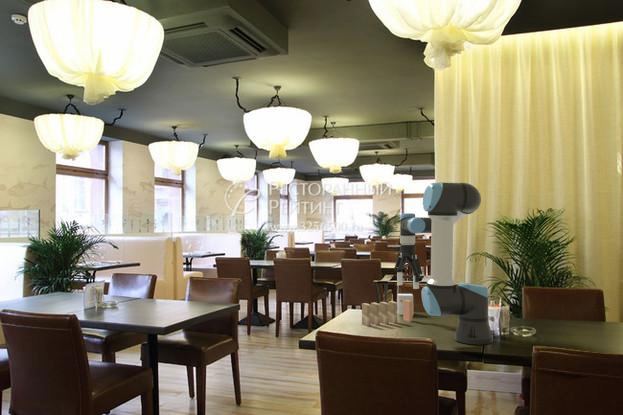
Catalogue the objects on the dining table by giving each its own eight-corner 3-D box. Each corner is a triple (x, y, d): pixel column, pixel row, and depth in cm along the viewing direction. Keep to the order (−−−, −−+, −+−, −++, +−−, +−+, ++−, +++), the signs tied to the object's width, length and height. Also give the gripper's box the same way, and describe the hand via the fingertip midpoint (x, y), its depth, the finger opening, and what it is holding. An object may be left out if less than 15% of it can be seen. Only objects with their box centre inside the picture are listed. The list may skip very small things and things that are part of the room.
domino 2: (374, 323, 245) (374, 302, 245) (379, 325, 241) (379, 304, 241) (370, 323, 244) (370, 302, 245) (376, 325, 240) (376, 304, 240)
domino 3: (383, 322, 247) (383, 301, 248) (388, 324, 243) (388, 303, 243) (379, 322, 247) (379, 302, 247) (385, 324, 242) (385, 303, 242)
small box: (412, 313, 270) (412, 293, 271) (413, 315, 265) (413, 295, 265) (397, 313, 271) (397, 293, 271) (398, 315, 266) (398, 295, 266)
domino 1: (365, 324, 243) (365, 303, 243) (370, 326, 239) (370, 304, 239) (361, 324, 242) (361, 303, 243) (367, 326, 238) (367, 305, 238)
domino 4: (391, 321, 249) (391, 301, 250) (397, 323, 245) (397, 302, 245) (388, 321, 249) (388, 301, 249) (393, 323, 244) (393, 302, 244)
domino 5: (406, 319, 253) (406, 299, 253) (412, 321, 249) (412, 301, 249) (403, 320, 252) (403, 300, 253) (409, 322, 248) (409, 301, 248)
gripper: (429, 245, 241) (429, 289, 241) (399, 242, 264) (399, 283, 264) (416, 245, 238) (416, 290, 238) (387, 243, 261) (387, 284, 261)
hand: (407, 286), depth 251 cm, fingers open, 13 cm apart
